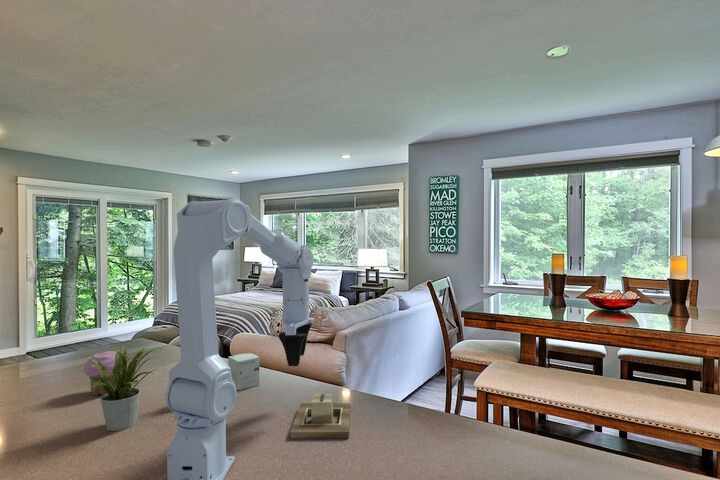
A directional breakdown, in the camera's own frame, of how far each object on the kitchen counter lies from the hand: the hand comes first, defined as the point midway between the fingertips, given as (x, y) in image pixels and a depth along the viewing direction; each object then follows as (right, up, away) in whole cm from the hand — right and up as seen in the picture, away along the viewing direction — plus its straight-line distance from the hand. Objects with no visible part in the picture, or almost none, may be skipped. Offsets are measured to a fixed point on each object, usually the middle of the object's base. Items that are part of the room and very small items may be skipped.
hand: (296, 360), depth 89 cm
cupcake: (-49, -11, +10) cm, 51 cm away
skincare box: (-16, -11, +14) cm, 24 cm away
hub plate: (+7, -10, -8) cm, 14 cm away
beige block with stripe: (+6, -10, -8) cm, 14 cm away
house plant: (-33, -11, -8) cm, 36 cm away
